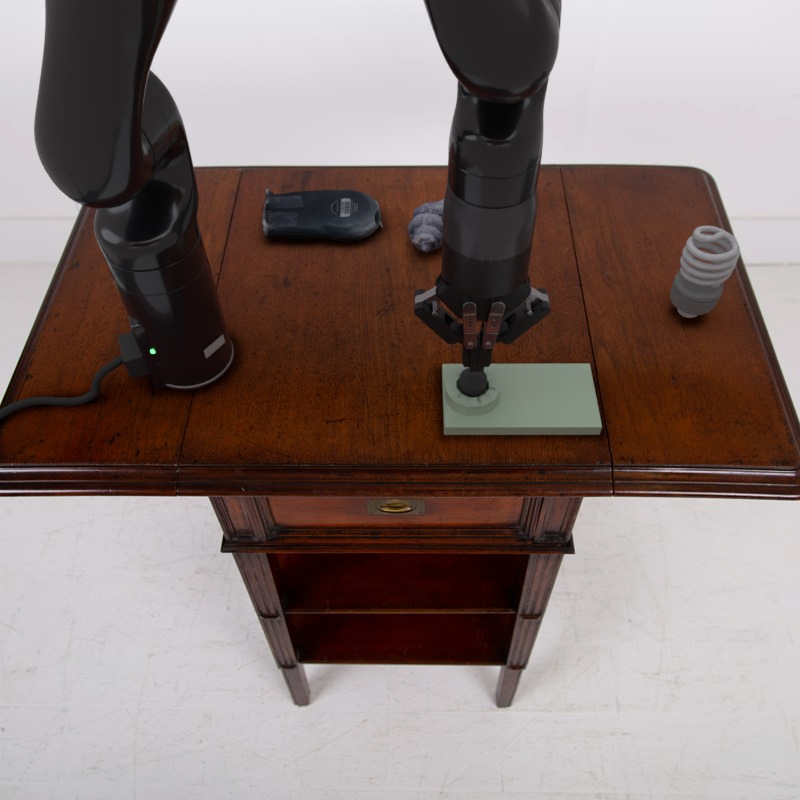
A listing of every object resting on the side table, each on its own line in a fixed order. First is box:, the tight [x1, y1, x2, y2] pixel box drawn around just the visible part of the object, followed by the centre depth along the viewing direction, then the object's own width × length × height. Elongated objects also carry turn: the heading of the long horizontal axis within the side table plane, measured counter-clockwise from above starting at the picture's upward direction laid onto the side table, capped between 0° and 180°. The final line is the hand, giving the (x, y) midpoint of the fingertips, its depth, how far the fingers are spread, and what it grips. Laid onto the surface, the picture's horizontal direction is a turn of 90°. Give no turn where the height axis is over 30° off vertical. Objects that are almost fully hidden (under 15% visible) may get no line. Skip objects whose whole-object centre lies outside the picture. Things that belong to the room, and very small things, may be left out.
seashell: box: [407, 198, 444, 253], centre depth 96 cm, size 5×5×10 cm
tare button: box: [459, 368, 487, 397], centre depth 78 cm, size 3×3×2 cm
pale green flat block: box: [441, 362, 603, 436], centre depth 79 cm, size 16×9×3 cm, turn 89°
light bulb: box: [669, 225, 741, 319], centre depth 83 cm, size 6×6×12 cm
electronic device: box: [262, 188, 383, 243], centre depth 98 cm, size 9×6×15 cm
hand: (476, 365), depth 76 cm, fingers closed
